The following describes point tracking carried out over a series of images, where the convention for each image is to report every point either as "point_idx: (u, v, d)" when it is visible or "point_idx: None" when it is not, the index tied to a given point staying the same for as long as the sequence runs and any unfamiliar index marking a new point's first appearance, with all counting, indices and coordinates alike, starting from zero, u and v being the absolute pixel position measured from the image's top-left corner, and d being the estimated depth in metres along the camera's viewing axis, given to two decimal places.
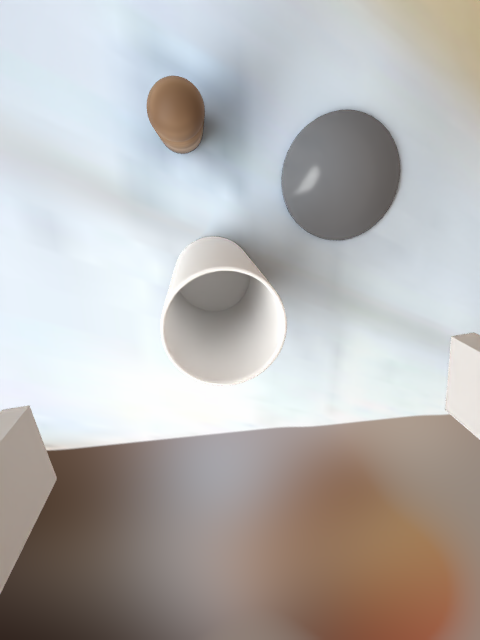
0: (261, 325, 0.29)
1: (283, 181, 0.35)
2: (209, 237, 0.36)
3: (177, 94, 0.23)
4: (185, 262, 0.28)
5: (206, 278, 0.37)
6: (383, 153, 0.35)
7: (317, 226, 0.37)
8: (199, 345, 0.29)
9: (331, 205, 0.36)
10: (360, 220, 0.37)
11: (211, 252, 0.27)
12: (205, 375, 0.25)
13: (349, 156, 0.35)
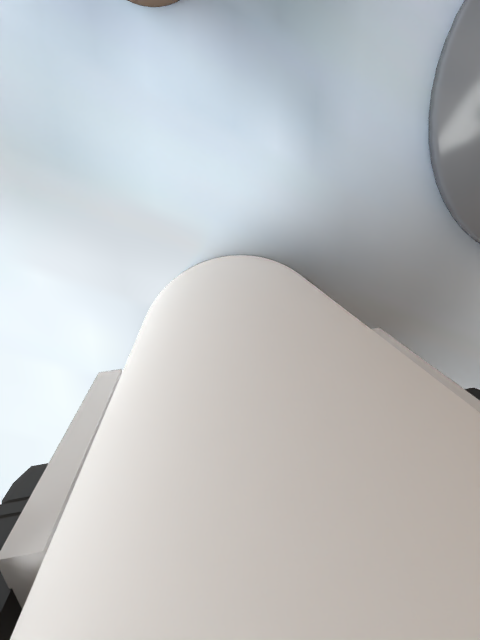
0: None
1: (441, 100, 0.12)
2: (231, 258, 0.13)
3: None
4: (132, 427, 0.05)
5: None
6: None
7: None
8: None
9: None
10: None
11: (288, 391, 0.04)
12: None
13: None
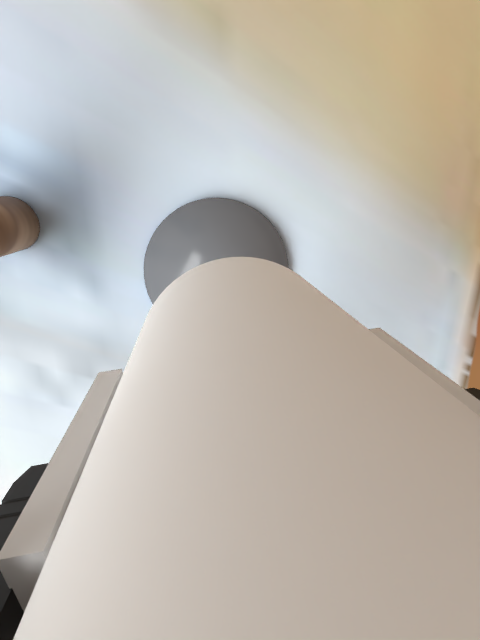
0: None
1: (145, 279, 0.29)
2: (231, 260, 0.13)
3: None
4: (133, 431, 0.05)
5: None
6: (265, 245, 0.30)
7: None
8: None
9: None
10: None
11: (288, 395, 0.04)
12: None
13: (223, 249, 0.29)
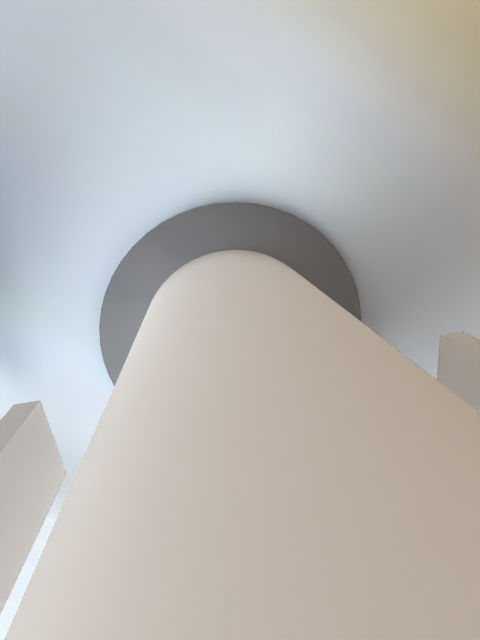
0: None
1: (103, 350, 0.16)
2: (227, 253, 0.14)
3: None
4: (143, 379, 0.06)
5: None
6: (322, 288, 0.16)
7: None
8: None
9: None
10: None
11: (264, 344, 0.06)
12: None
13: None
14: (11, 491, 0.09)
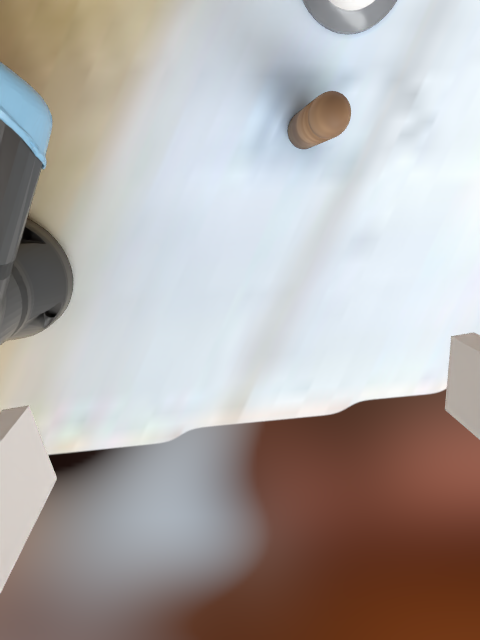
0: None
1: (350, 31, 0.39)
2: None
3: (330, 108, 0.33)
4: None
5: None
6: None
7: None
8: None
9: None
10: None
11: None
12: None
13: None
14: None
